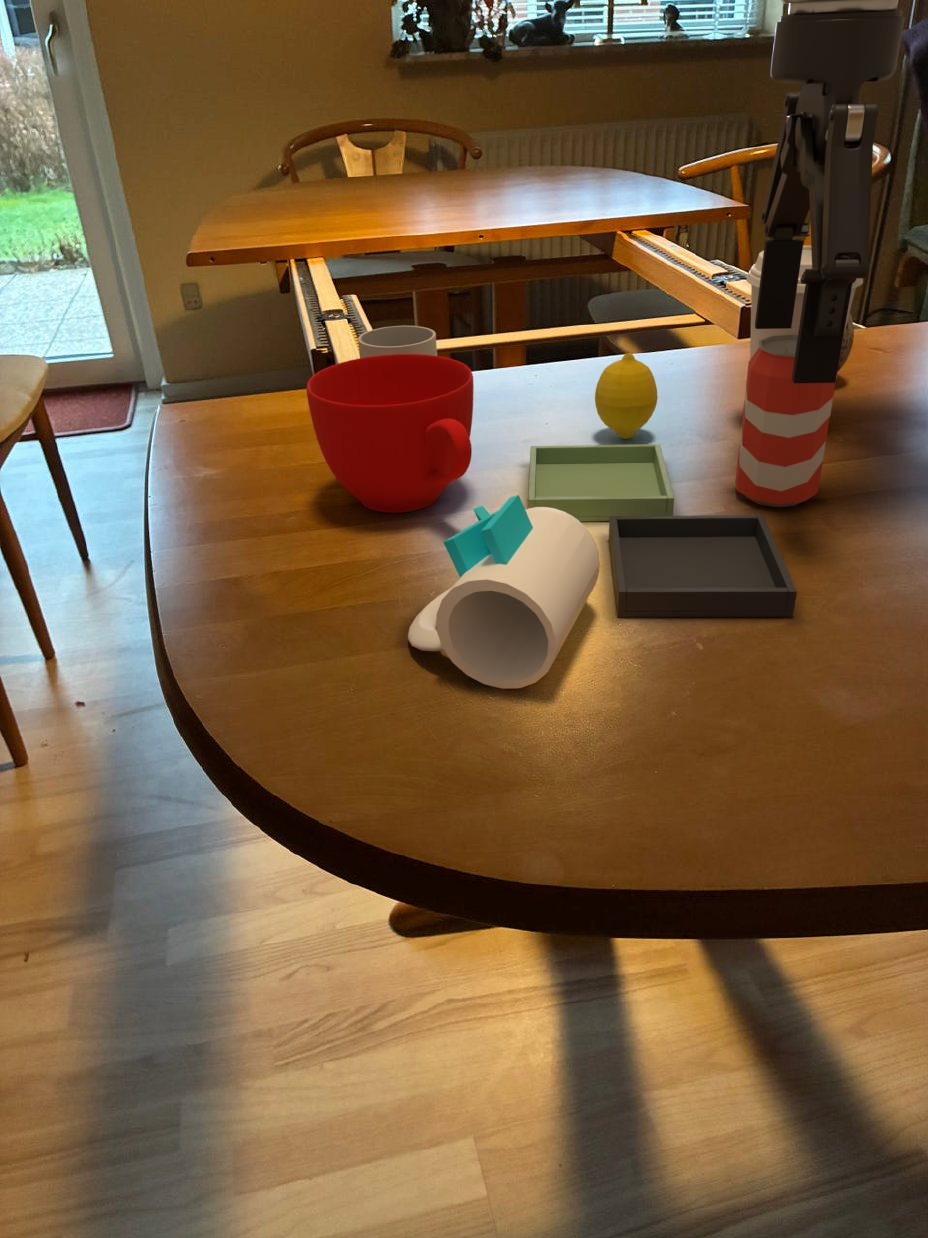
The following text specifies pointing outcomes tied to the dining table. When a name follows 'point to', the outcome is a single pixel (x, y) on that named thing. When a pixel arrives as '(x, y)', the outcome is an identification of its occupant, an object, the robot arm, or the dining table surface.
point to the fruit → (626, 396)
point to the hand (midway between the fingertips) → (791, 352)
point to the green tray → (600, 481)
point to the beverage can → (781, 428)
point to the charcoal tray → (698, 567)
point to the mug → (511, 594)
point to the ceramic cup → (394, 426)
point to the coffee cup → (806, 263)
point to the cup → (397, 341)
